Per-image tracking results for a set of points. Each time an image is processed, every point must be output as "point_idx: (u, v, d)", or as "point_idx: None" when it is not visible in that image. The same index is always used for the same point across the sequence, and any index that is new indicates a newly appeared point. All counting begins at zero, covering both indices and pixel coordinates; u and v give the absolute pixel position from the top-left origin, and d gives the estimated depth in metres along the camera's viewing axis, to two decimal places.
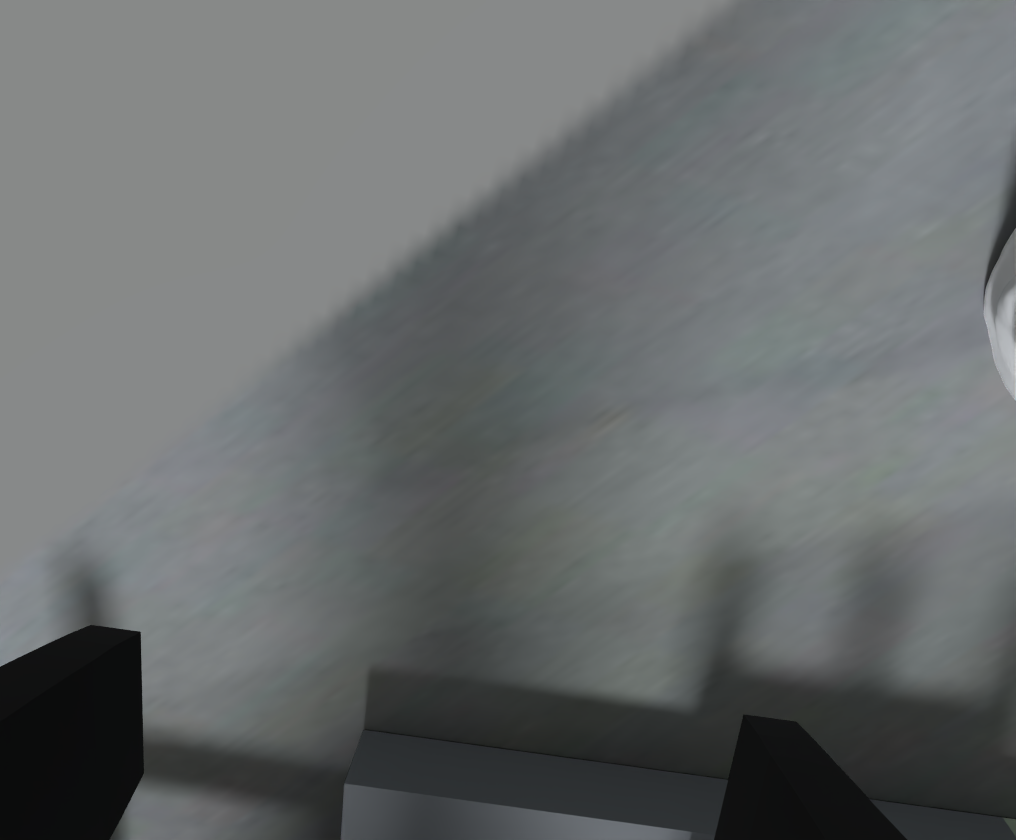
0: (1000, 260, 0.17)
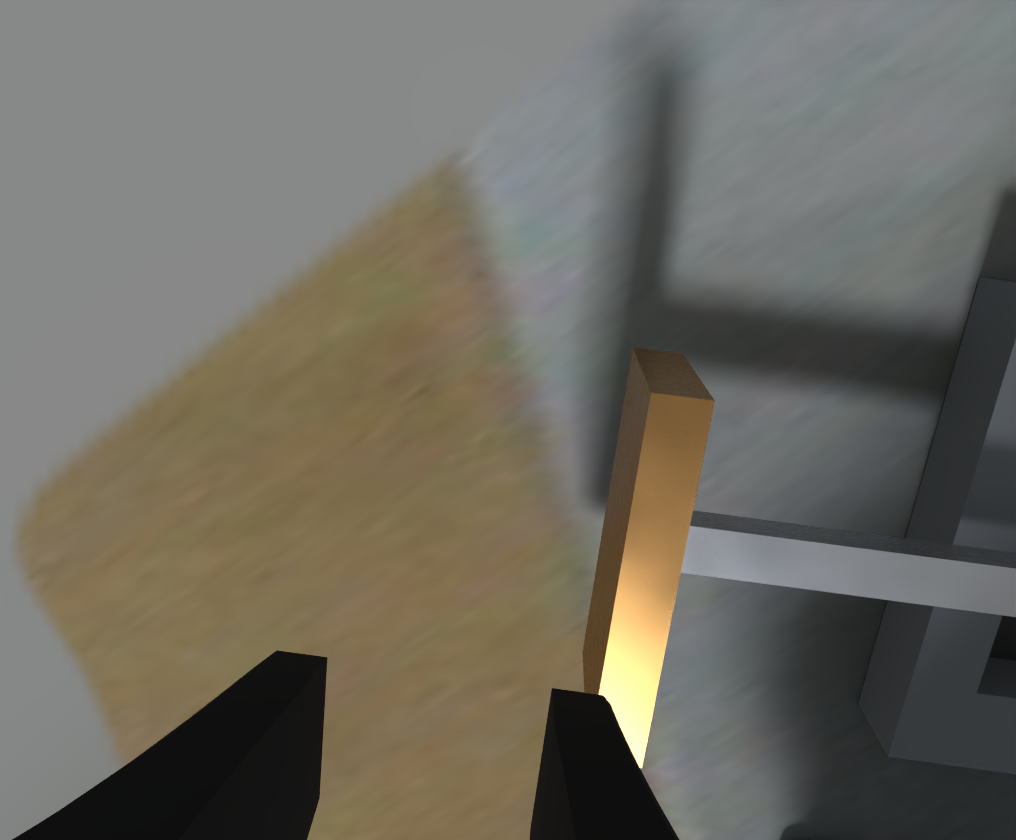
0: None
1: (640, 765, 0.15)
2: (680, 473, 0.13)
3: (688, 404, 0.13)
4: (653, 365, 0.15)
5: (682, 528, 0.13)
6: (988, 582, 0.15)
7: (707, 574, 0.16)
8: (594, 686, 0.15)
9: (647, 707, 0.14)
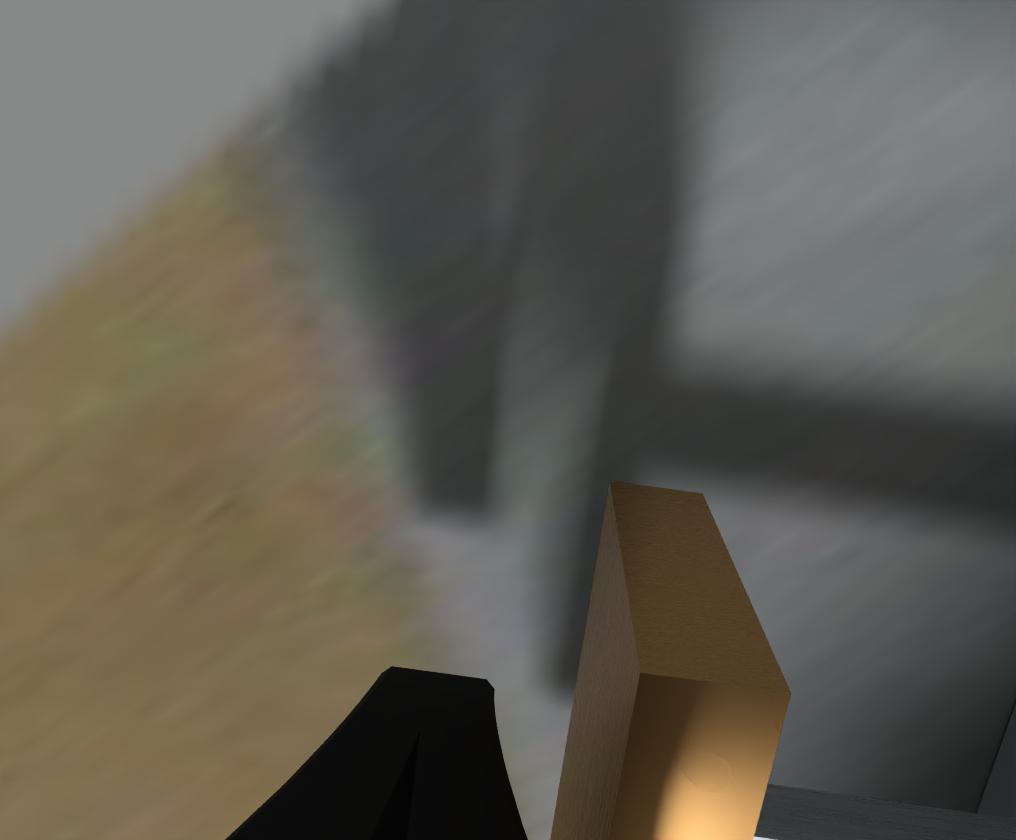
0: None
1: None
2: (707, 839, 0.06)
3: (728, 697, 0.05)
4: (647, 543, 0.07)
5: None
6: None
7: None
8: None
9: None
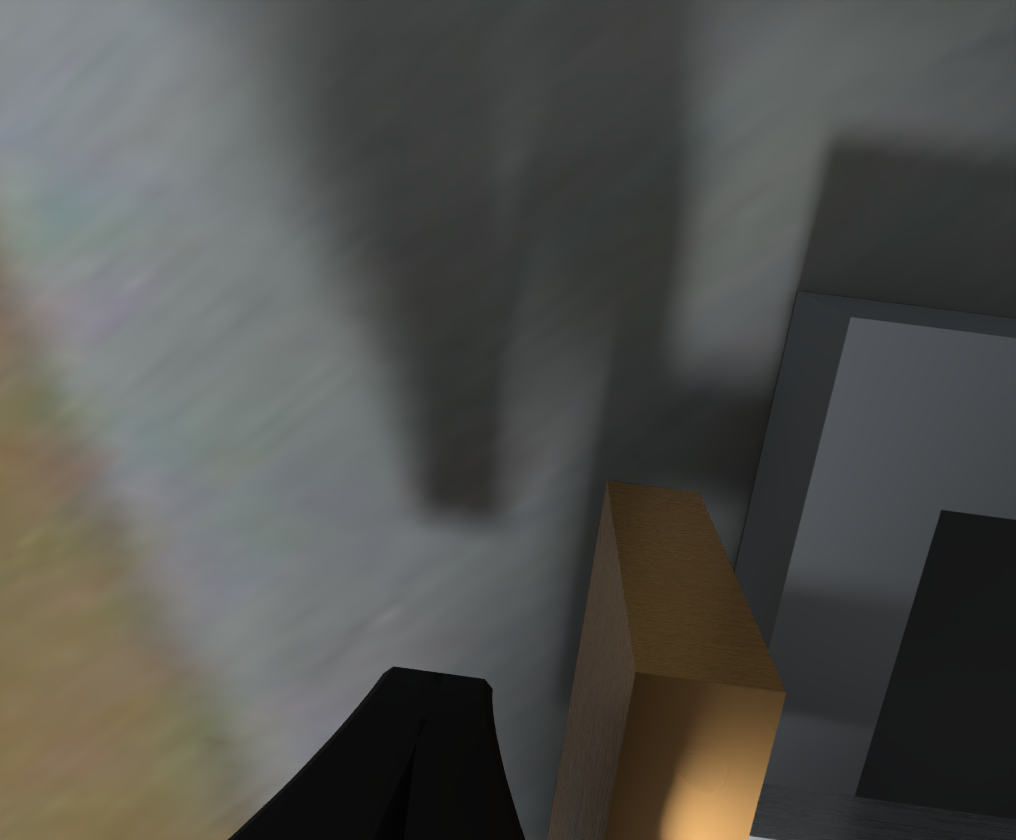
0: None
1: None
2: (702, 838, 0.06)
3: (723, 698, 0.05)
4: (644, 543, 0.07)
5: None
6: None
7: None
8: None
9: None
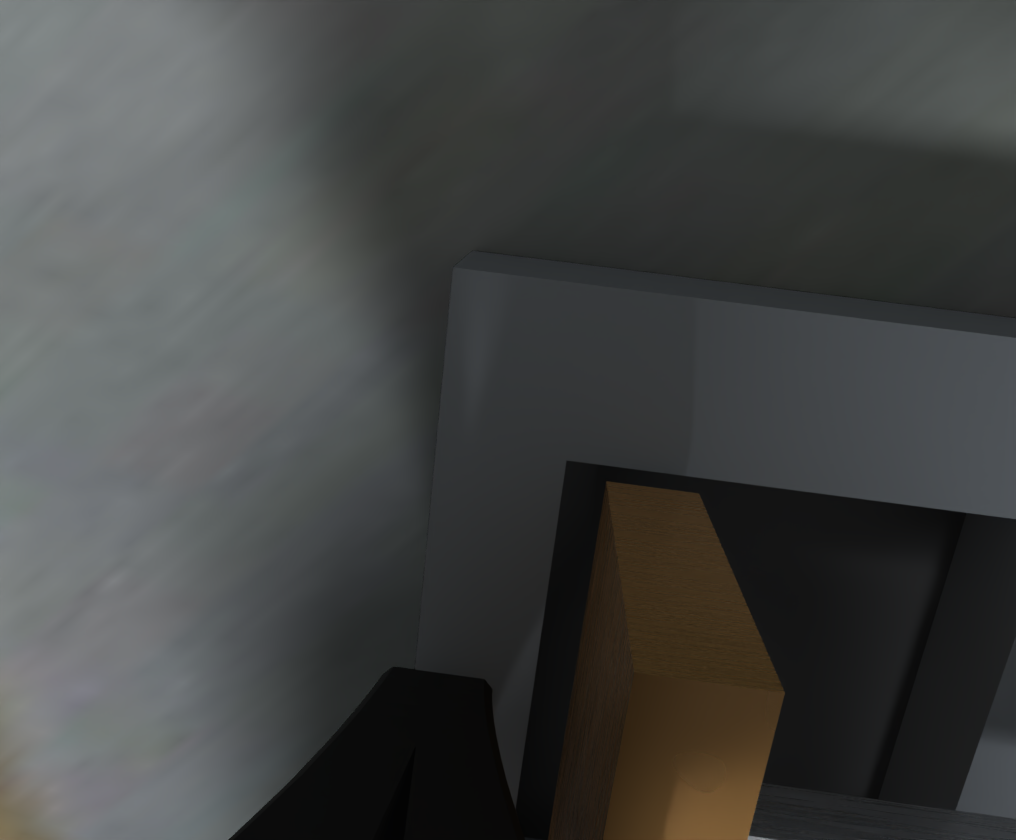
0: None
1: None
2: (702, 838, 0.06)
3: (722, 697, 0.05)
4: (643, 543, 0.07)
5: None
6: None
7: None
8: None
9: None
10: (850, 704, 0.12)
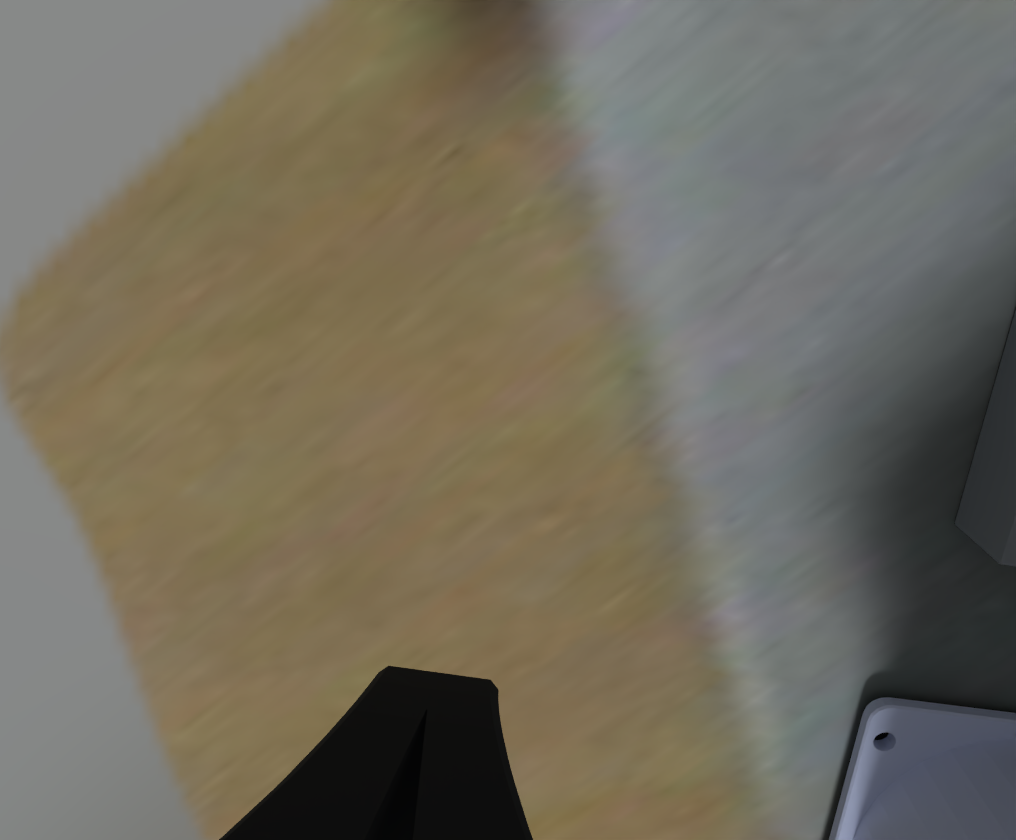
0: None
1: None
2: None
3: None
4: None
5: None
6: None
7: None
8: None
9: None
10: None
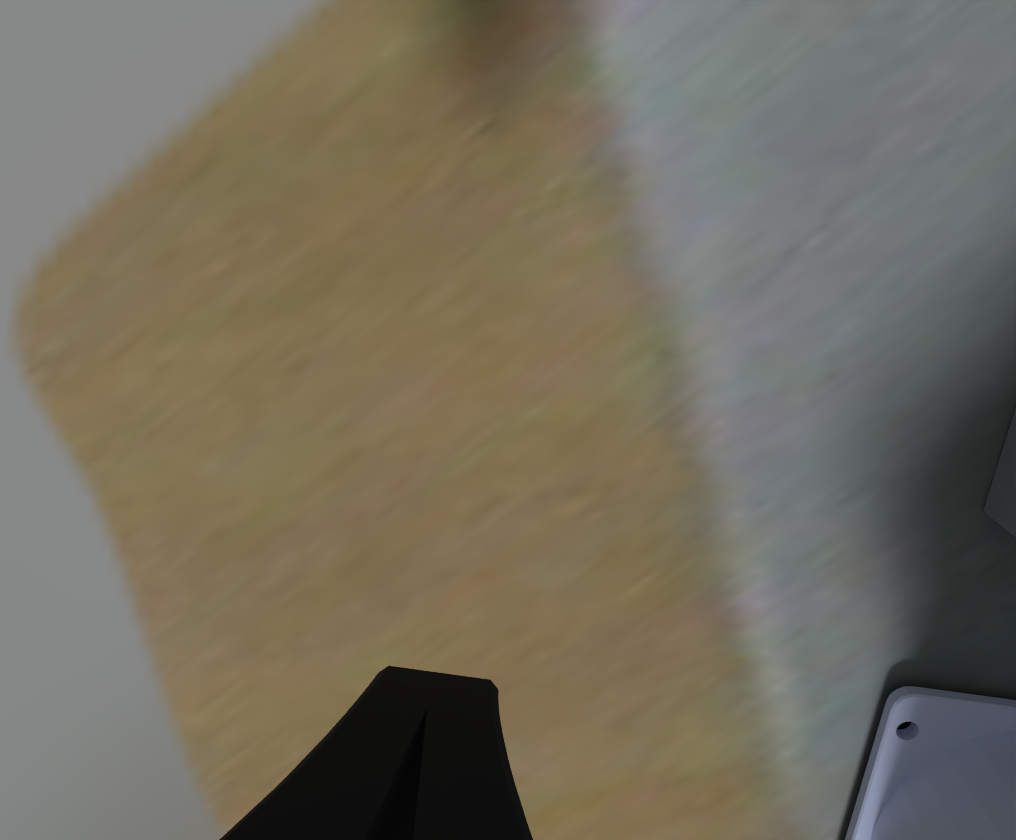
0: None
1: None
2: None
3: None
4: None
5: None
6: None
7: None
8: None
9: None
10: None
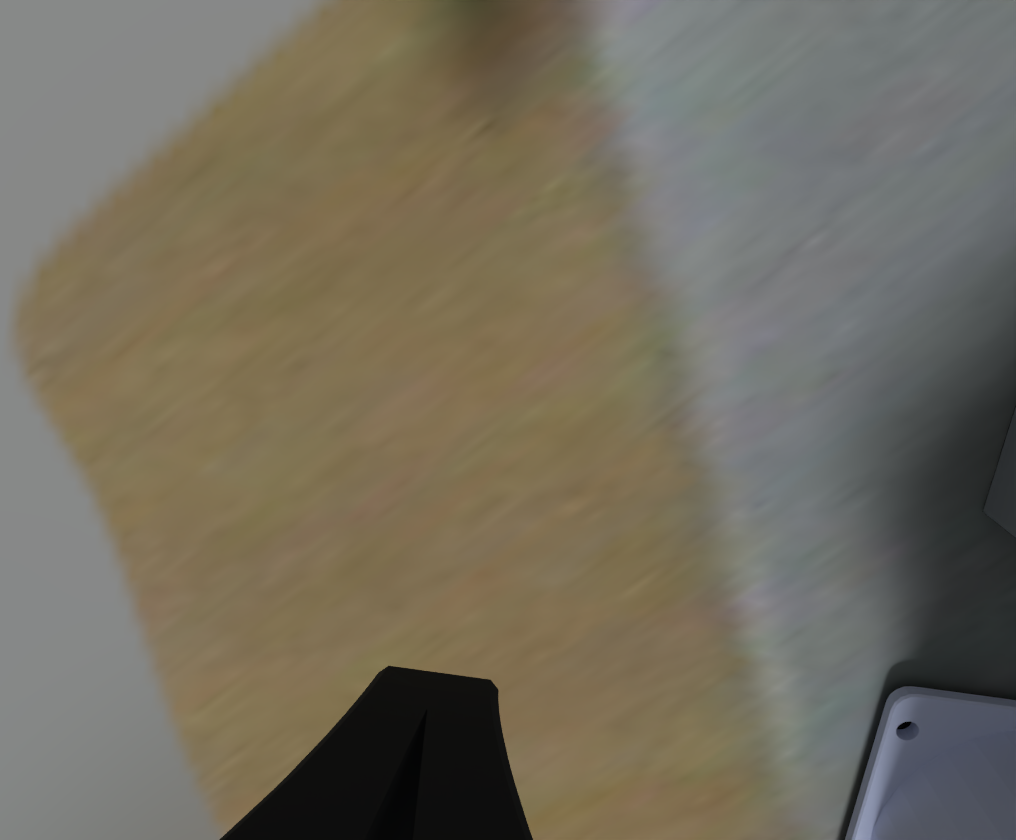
0: None
1: None
2: None
3: None
4: None
5: None
6: None
7: None
8: None
9: None
10: None
